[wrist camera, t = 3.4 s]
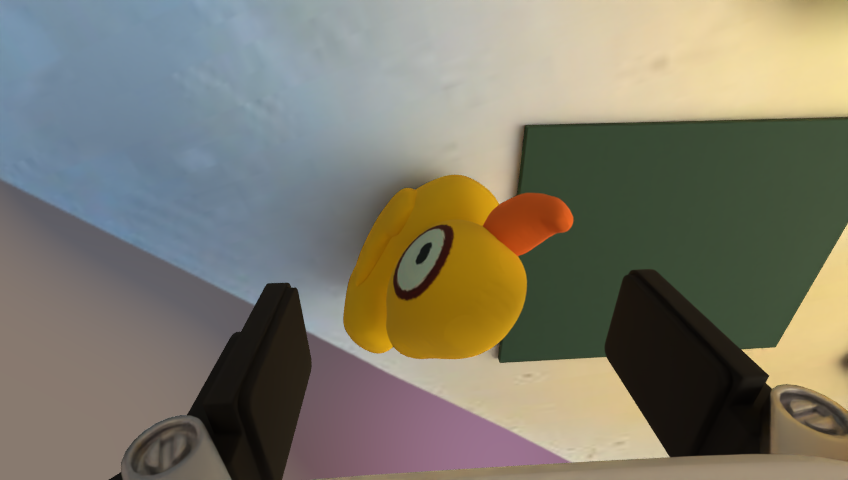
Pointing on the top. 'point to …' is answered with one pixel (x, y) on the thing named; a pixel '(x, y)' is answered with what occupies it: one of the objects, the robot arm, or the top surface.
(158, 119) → the top surface
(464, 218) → the duckling
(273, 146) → the top surface
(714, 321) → the mat
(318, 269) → the top surface
